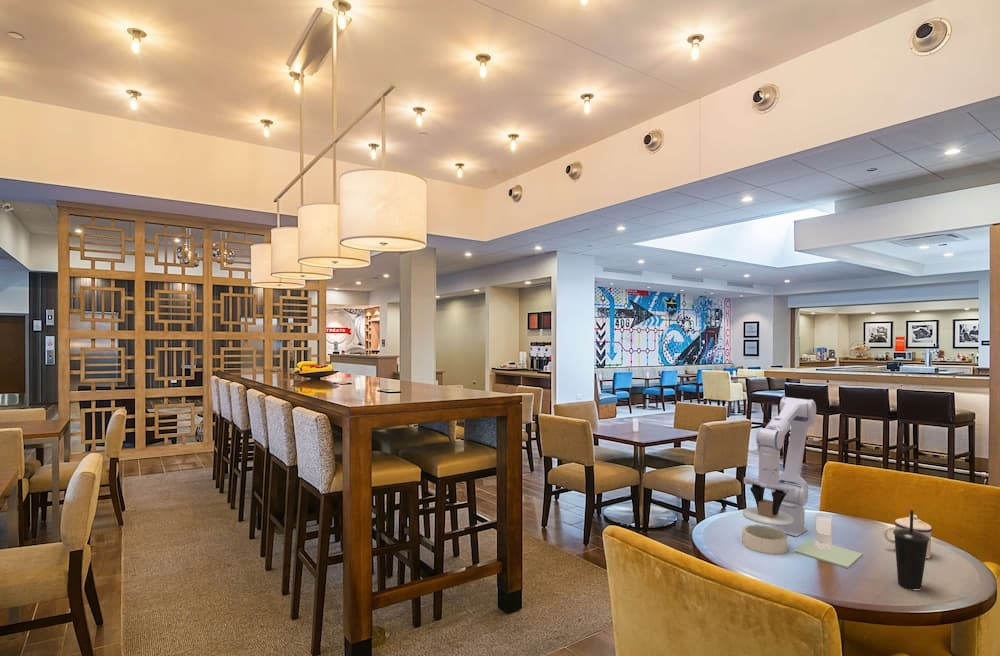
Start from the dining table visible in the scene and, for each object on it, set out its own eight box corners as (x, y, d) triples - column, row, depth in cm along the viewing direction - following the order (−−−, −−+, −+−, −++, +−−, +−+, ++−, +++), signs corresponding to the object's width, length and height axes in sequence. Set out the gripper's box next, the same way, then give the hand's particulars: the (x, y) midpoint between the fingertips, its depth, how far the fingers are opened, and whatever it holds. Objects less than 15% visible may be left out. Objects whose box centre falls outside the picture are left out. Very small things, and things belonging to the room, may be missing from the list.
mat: (811, 540, 173) (811, 539, 173) (862, 555, 163) (862, 553, 163) (794, 552, 164) (794, 550, 164) (847, 568, 153) (847, 566, 153)
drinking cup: (930, 596, 138) (932, 517, 138) (892, 588, 142) (895, 511, 142) (926, 584, 145) (928, 509, 145) (890, 576, 149) (892, 503, 149)
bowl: (752, 534, 177) (753, 522, 177) (792, 546, 168) (793, 533, 168) (735, 544, 169) (735, 531, 169) (776, 557, 160) (777, 543, 160)
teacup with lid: (924, 550, 168) (925, 512, 167) (936, 562, 159) (937, 522, 159) (878, 544, 172) (879, 507, 172) (887, 555, 163) (889, 516, 163)
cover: (754, 506, 178) (755, 492, 178) (800, 519, 167) (801, 503, 167) (734, 516, 169) (735, 500, 169) (782, 529, 158) (782, 513, 158)
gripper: (739, 465, 171) (738, 508, 171) (788, 475, 160) (787, 521, 160) (749, 461, 175) (748, 503, 176) (798, 471, 165) (796, 516, 165)
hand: (767, 512), depth 168 cm, fingers closed on cover, 4 cm apart
